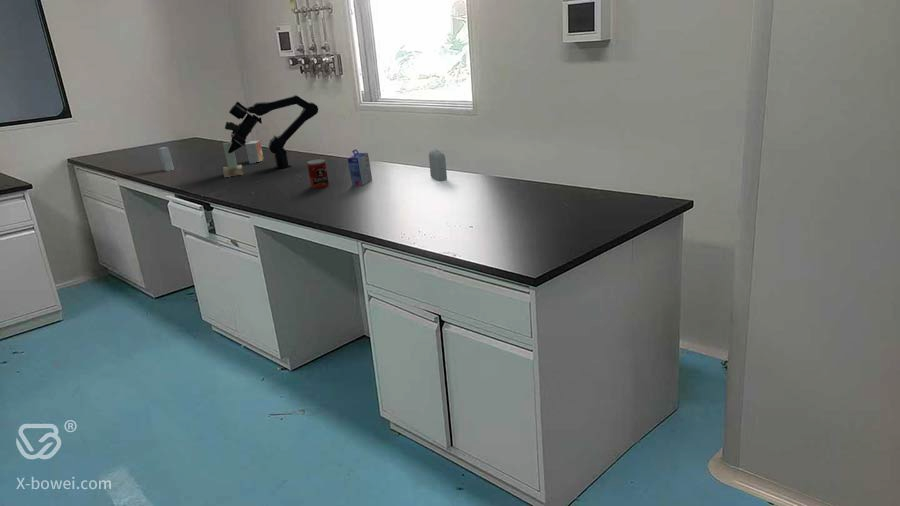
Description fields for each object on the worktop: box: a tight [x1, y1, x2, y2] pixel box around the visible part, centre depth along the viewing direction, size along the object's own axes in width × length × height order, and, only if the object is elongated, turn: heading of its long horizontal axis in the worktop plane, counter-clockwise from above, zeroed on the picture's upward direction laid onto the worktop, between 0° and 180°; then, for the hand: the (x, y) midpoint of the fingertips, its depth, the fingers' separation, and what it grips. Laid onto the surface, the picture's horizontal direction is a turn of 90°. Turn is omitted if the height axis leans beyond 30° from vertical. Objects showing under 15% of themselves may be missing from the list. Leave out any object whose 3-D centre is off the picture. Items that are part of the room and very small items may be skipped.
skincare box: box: [157, 146, 175, 172], centre depth 334 cm, size 6×4×12 cm
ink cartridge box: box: [347, 149, 373, 187], centre depth 270 cm, size 10×6×14 cm, turn 161°
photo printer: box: [428, 149, 448, 182], centre depth 266 cm, size 10×4×12 cm, turn 25°
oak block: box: [222, 164, 245, 178], centre depth 310 cm, size 9×9×4 cm
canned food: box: [307, 158, 329, 189], centre depth 272 cm, size 8×8×11 cm
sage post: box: [222, 141, 238, 169], centre depth 307 cm, size 4×5×12 cm
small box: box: [245, 140, 264, 164], centre depth 336 cm, size 8×6×10 cm
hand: (228, 151), depth 307 cm, fingers open, 9 cm apart
